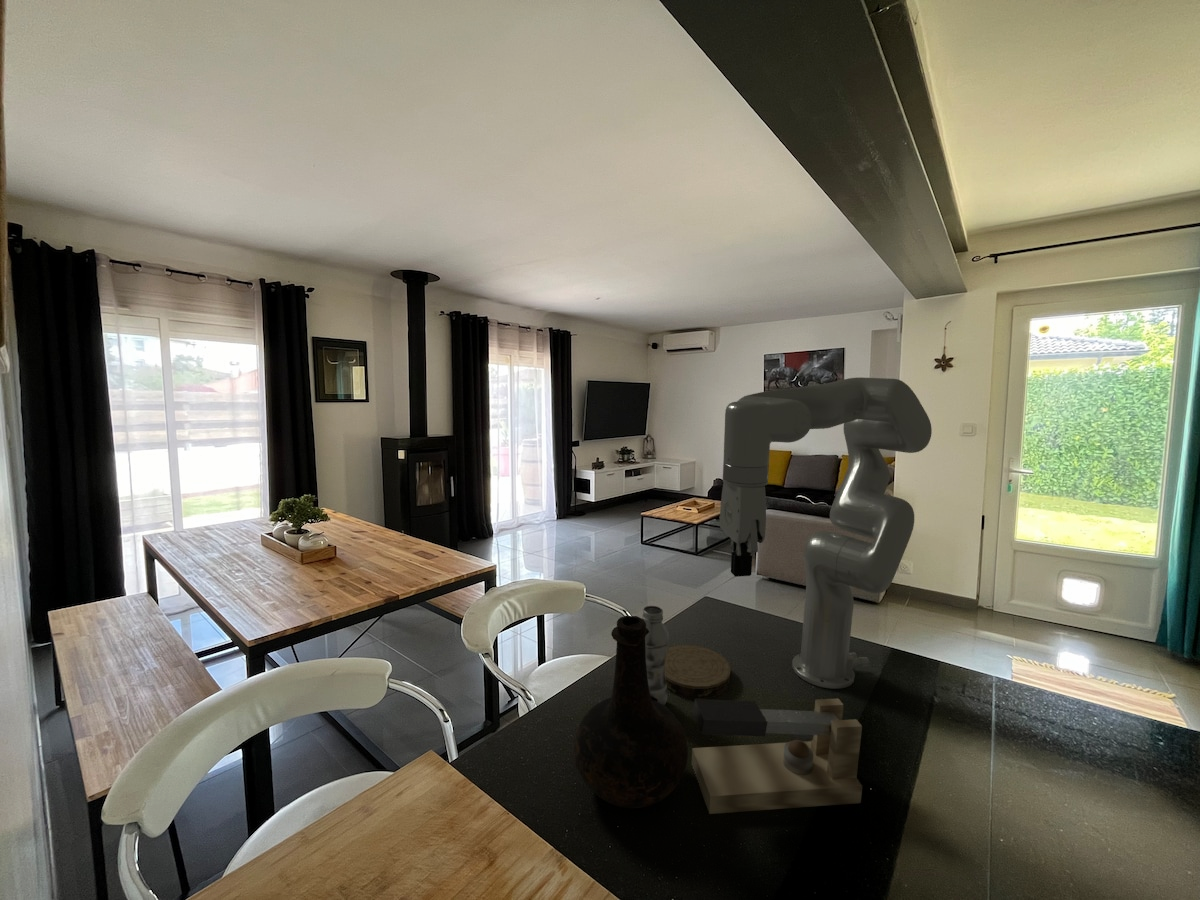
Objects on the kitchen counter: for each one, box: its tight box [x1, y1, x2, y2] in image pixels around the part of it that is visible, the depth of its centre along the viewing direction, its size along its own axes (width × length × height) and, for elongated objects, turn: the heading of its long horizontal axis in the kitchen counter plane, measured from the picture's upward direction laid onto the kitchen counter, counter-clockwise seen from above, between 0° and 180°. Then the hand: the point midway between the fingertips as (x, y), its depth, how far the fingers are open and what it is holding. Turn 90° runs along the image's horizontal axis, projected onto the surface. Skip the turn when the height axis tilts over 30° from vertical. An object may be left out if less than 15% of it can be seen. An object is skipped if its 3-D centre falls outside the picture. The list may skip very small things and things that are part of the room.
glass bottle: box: [573, 615, 689, 809], centre depth 83 cm, size 18×18×28 cm
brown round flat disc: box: [665, 644, 731, 700], centre depth 114 cm, size 16×16×3 cm
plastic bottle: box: [642, 605, 670, 706], centre depth 103 cm, size 6×7×20 cm
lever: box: [692, 698, 839, 740], centre depth 84 cm, size 23×5×3 cm, turn 96°
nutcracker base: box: [691, 698, 863, 815], centre depth 85 cm, size 24×10×12 cm, turn 96°
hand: (740, 574), depth 94 cm, fingers closed
